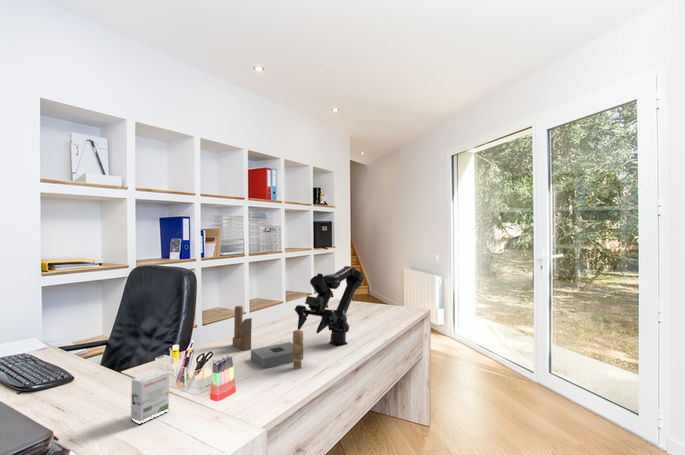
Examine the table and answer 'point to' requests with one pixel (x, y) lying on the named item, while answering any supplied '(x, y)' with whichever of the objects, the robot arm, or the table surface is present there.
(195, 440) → the table surface
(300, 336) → the teak leg
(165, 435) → the table surface
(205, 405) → the table surface
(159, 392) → the ink box
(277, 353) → the seat board
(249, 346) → the wooden block
